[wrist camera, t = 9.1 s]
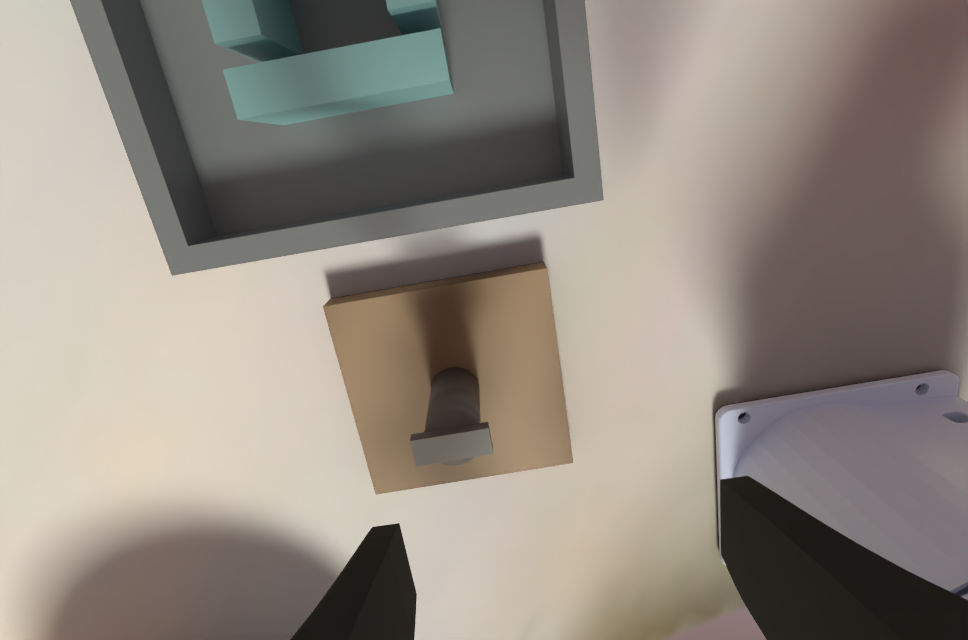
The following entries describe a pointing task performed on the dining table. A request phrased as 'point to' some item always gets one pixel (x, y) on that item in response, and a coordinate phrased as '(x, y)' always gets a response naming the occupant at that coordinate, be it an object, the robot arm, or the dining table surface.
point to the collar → (326, 62)
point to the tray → (347, 129)
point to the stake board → (453, 336)
